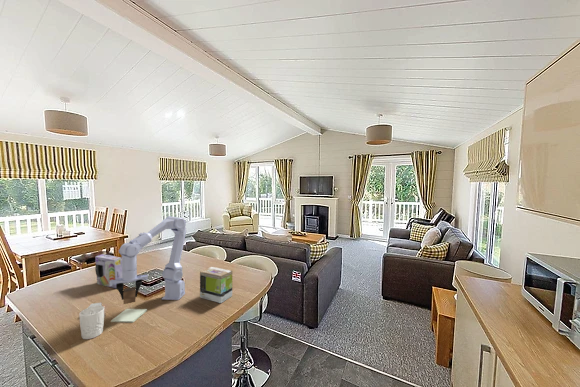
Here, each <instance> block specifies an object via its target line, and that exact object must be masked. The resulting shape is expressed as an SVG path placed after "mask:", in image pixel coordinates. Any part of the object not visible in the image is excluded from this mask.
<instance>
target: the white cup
mask: <svg viewBox="0 0 580 387" xmlns="http://www.w3.org/2000/svg"><path fill="white" fill-rule="evenodd" d="M104 306H105V305H104ZM104 306H93V307H89V306H88V307H89V308H88V307H87V308H84V309H82V310H81V311H80V312H79V313H78V315H79V316H78V317H79V326H80V334H81V336H80V337H81V338H82V339H83V340H90V339H94V338H97V337H99V336H100V335H101V334H103V332H104V325H105V324H104V322H105V317H104Z"/></svg>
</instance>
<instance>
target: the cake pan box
mask: <svg viewBox="0 0 580 387" xmlns="http://www.w3.org/2000/svg"><path fill="white" fill-rule="evenodd" d="M94 258H95V274H96V285H99V286H104V287H109V288H112V289H117V288H116V285H113V286H110V281H111V280H116V279H120V278H122V256H121V257H119V256H114V255H110V254H98V255H96V256H95V257H94Z"/></svg>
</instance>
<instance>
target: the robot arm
mask: <svg viewBox="0 0 580 387" xmlns="http://www.w3.org/2000/svg"><path fill="white" fill-rule="evenodd" d="M186 226H187V221H186V220H185V219H184V218H183V217H180V216H179V217H178V216H172V215H169V216H167V217H165V218H164V219H162V221H161V222H159V223H158V224H157V225H156V226H154V227H153V228H151V229H150V230H149V231H148V232H140V233H138V236H135V238H133V239H130V240H129V242H125V243H122V245H121V246H120V248H119V249H118V253H119V254H120V255H121V258H122V278H120V279H116V280H111V281H110V286H113V285H116V288H115V289H116V290H117V291H118V293H119V294H120V297H121V300H122V301H123V292H124V289H125V288H124V284H129V283H134V282H135V287H136V293H135V297H136V298H137V297H138V293H139V291H140V288H141V286H142V284H143V281H149V279H148V278H149V276H148V274H144V275H143V274H142V275H141V274H139V275H138V273H137V272H138V269H137V268H138V265H137V260H138V259H137V258H138V257H137V255H138V254H139V252H140V250H142V249H143V248H144V247H146V246H147V245H148V244H150V243H151V242H152V240H153V238H155V237H156V236H157V235H159V234H160V233H162V232H164V231H165V230H171V231H172V232H173V233H174V237H173V240H172V241H173V242H172V246H171V250H170V251H171V252H170V256H169V261H168V263H166V264H165V266H164V268H163V271H162V272H161V276H162V278H163V279H164V296H162V298H161V300H165V301H168V300H173V301H179V300H180V299H182V297H184V295H186V284H185V283H186V282H185V280H182V278H183V276H184V275H183V274H184V273H183V266H182V264H181V259H182V253H183V250H184V244H185V239H186V235H187V230H186V229H187V228H186Z"/></svg>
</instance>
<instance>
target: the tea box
mask: <svg viewBox="0 0 580 387" xmlns="http://www.w3.org/2000/svg"><path fill="white" fill-rule="evenodd" d="M232 296H233V270H232V269H227V268H222V267H217V266H216V267H215V266H210V267H208V268H206V269H203V270H201V271H200V272H199V298H201V299H204V300H208V301H210V302H211V301H212V302H214V303H219V304H222V303H224V302H225V301H227V300H228V299H230V298H231V297H232Z"/></svg>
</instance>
